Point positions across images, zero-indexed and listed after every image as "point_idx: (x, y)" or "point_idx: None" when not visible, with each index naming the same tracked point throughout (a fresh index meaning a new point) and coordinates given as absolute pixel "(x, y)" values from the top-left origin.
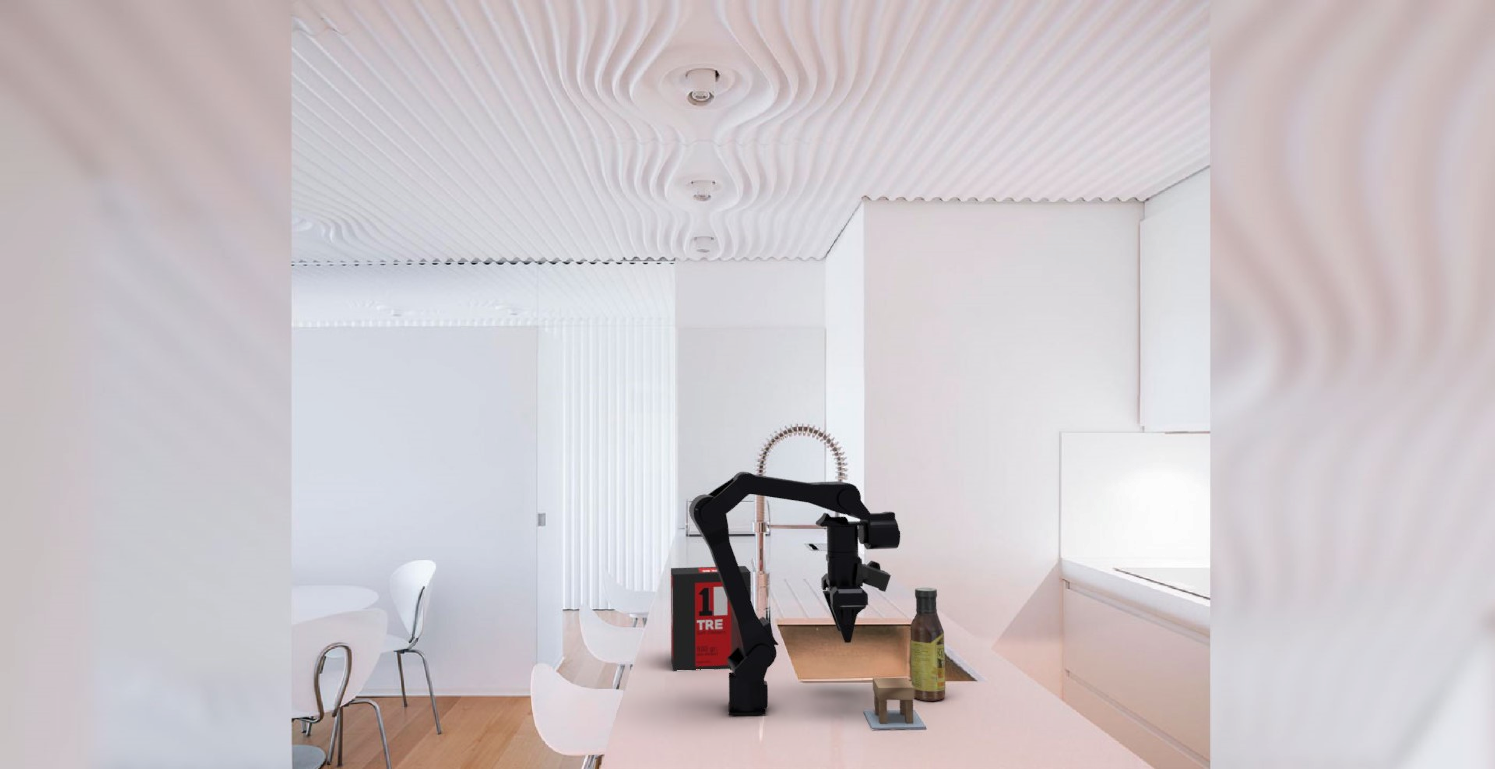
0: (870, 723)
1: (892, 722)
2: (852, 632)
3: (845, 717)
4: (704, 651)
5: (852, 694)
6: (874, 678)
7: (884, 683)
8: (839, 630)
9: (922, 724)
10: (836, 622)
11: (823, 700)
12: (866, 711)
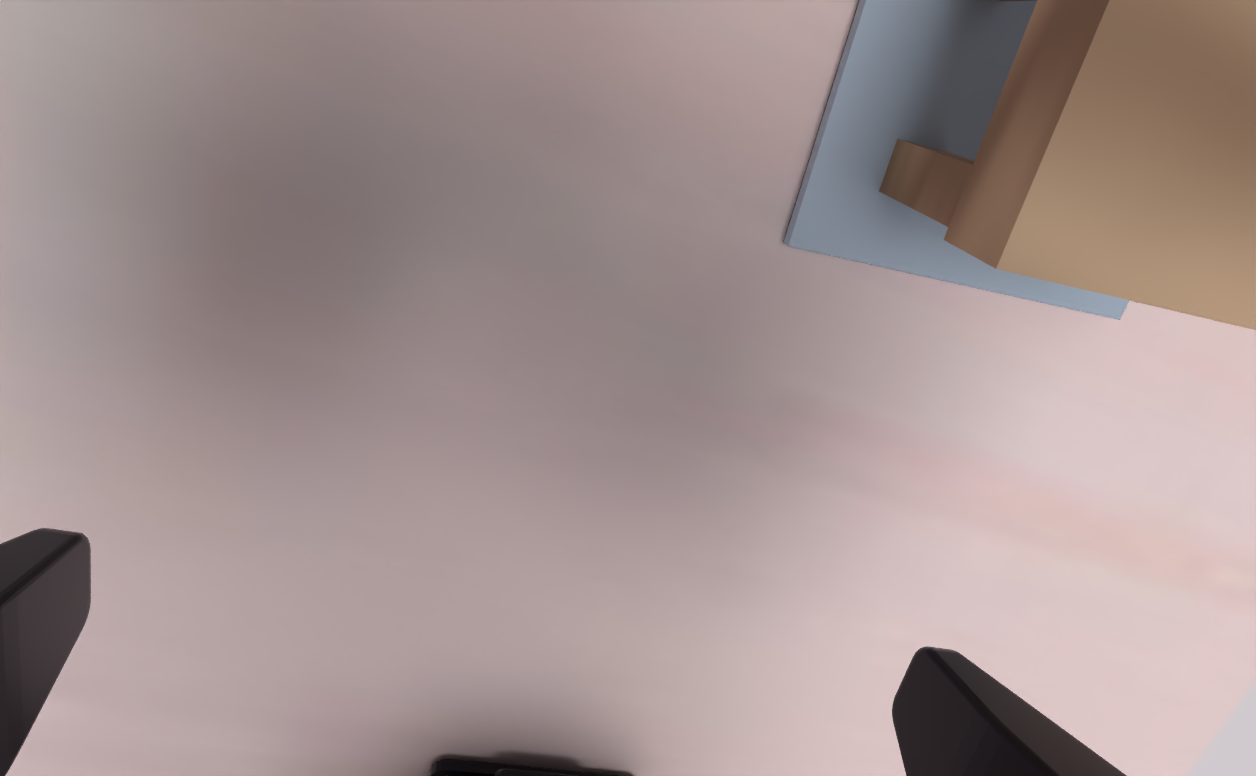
0: (1047, 300)
1: None
2: (1096, 764)
3: (818, 387)
4: None
5: (300, 149)
6: (1022, 259)
7: (1211, 227)
8: (81, 600)
9: None
10: (4, 766)
11: (419, 415)
12: (816, 233)
